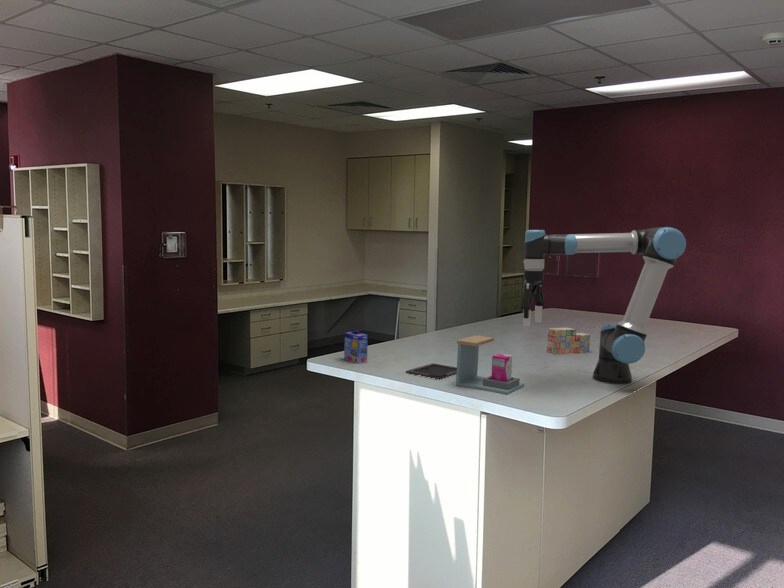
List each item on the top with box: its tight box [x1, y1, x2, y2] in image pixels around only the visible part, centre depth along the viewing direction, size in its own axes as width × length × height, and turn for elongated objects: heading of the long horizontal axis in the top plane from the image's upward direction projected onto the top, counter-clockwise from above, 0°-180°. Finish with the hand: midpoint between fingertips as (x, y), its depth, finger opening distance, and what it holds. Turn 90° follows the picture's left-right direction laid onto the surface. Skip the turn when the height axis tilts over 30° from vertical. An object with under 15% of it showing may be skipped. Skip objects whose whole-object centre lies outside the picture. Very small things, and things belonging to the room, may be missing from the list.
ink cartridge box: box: [343, 328, 369, 364], centre depth 288 cm, size 10×6×14 cm, turn 44°
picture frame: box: [405, 362, 457, 380], centre depth 272 cm, size 16×2×21 cm
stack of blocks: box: [546, 327, 591, 355], centre depth 329 cm, size 21×6×12 cm, turn 113°
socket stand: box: [455, 335, 525, 395], centre depth 252 cm, size 22×16×17 cm
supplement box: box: [491, 353, 513, 382], centre depth 250 cm, size 6×6×12 cm
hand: (532, 324), depth 257 cm, fingers open, 13 cm apart
